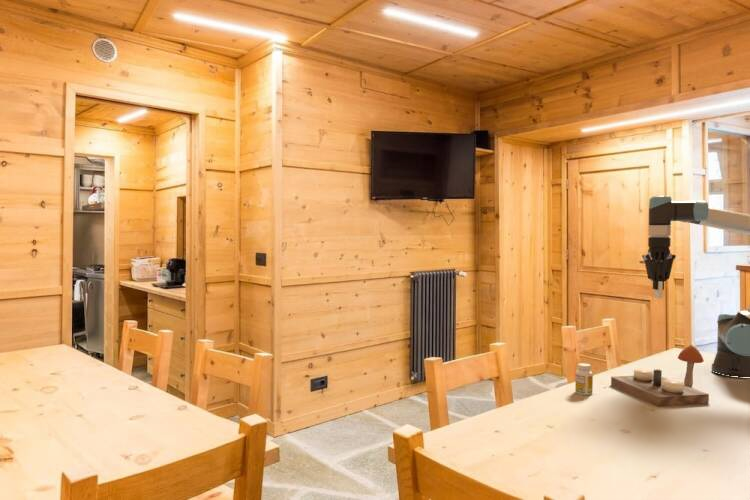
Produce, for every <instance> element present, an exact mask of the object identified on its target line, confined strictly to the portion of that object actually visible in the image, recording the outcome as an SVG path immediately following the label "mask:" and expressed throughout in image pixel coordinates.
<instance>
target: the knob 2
mask: <svg viewBox="0 0 750 500" xmlns="http://www.w3.org/2000/svg"><path fill="white" fill-rule="evenodd" d="M683 385H684V381H683V382H682V381H681V380H677V379H676V380H675V379H669V380H662V389H663V390H665V391H666V392H668V393H671V394H674V393H679V392H683Z"/></svg>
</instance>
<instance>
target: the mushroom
mask: <svg viewBox="0 0 750 500" xmlns="http://www.w3.org/2000/svg"><path fill="white" fill-rule="evenodd" d="M703 358H704V357H703V356H702V354H701V352H700V351H699V350H698V348H696V347H695V346H694V345H692V344H690V345H688V346H686V347H685V348H683V349H682V350H681V351H680V352H679V354H678V356H677V359H678V360H679V361H682V362H685V363H686V371H685V376H684V378H683V385H685V386H688V387H691V388H693V384H694V374H693V373H694V366H695V364H701V363H704V362H705V361H704V359H703Z"/></svg>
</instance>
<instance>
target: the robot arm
mask: <svg viewBox="0 0 750 500" xmlns="http://www.w3.org/2000/svg"><path fill="white" fill-rule="evenodd" d="M648 204H649V205H648V236H649V237H648V239H647V241H648V242H647V244H648V245H647V246H648V250H647V253H646V254H643V255H641V257H642V259H643V260H644V264H645V270H646V274H647V279H648V280H650V281H651V282H652V289H653V298H654V299H663V290H665V282H667V280H670V276H671V273H672V267H673V263H674V260H675V259H676V254H672V253H671V250H670V247H671V237H670V236H672V233H671V232H672V230H671V229H672V223H671V222H681V223H688V224H694V225H699V226H703V227H709V228H714V229H719V230H723V231H729V232H733V233H739V234H742V235H749V236H750V214H748V213H745V212H744V213H742V212H737V211H732V210H729V209H722V208H716V207H711V206H709V203H708V201H707V200H683V201H682V200H681V201H678V200H677V201H675V200H672V197H671V196H669V195H665V196H664V195H661V196H660V195H656V196H652V197H650V198H649V203H648ZM716 323H717V336H716V337H717V344H716V353H715V357H714V360H713V363H712V364H711V370H712V371H714V372H717V373H720V374H724V375H729V376H738V377H750V304H749V305H748V306H747V308H746V309H743V310H740V311H738V312H736V314H730V313H729V314H725V313H720V314H718V316H717V321H716ZM712 371H711V372H712ZM714 372H713V373H714Z"/></svg>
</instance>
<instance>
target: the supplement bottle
mask: <svg viewBox="0 0 750 500" xmlns="http://www.w3.org/2000/svg"><path fill="white" fill-rule="evenodd" d="M591 368H592V367H591V364H590V363H582V362H581V363H580V362H579V363H578V364H577V370H576V371H575V393H576V394H578V395H582V396H590V395H592V394H593V382H594V380H593V377H594V376H593V372H592V371H591Z"/></svg>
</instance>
